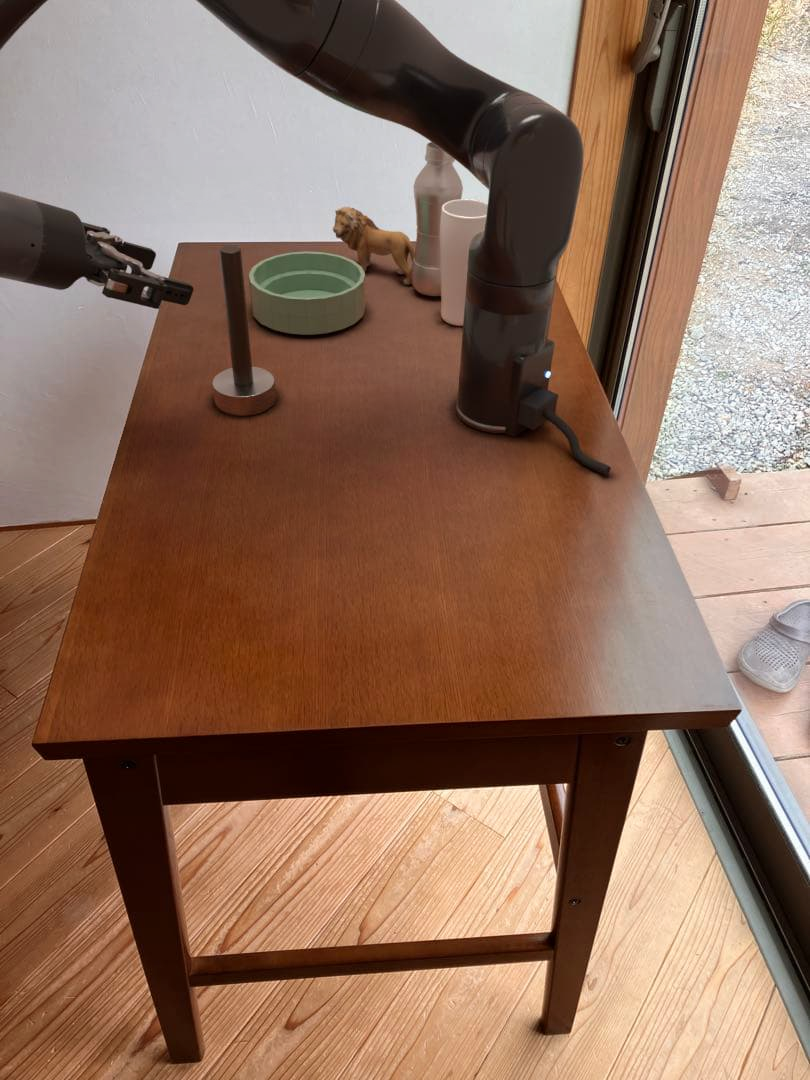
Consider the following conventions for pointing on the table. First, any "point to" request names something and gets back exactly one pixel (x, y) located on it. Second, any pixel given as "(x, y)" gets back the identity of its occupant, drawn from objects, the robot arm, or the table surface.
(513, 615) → the table surface
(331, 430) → the table surface
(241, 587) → the table surface
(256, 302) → the bowl
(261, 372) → the peg stand
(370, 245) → the lion figurine
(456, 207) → the drinking glass
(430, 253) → the plastic bottle
